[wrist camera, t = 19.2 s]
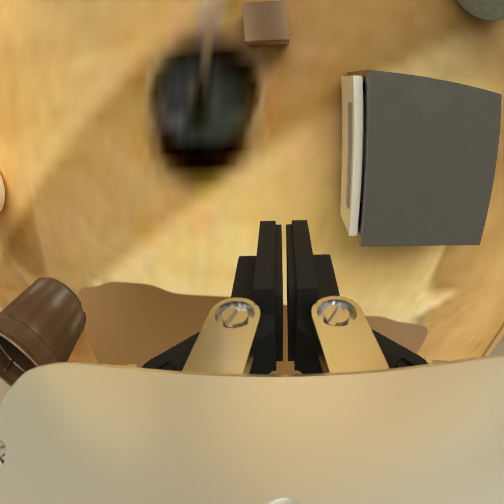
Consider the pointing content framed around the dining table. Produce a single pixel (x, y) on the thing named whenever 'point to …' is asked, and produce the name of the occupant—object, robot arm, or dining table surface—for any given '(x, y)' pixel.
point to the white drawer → (352, 150)
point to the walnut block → (266, 23)
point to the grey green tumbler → (484, 8)
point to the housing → (426, 160)
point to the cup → (2, 193)
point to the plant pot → (39, 328)
